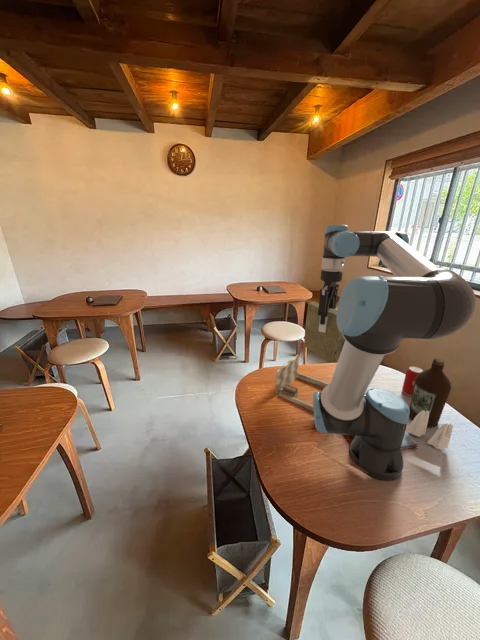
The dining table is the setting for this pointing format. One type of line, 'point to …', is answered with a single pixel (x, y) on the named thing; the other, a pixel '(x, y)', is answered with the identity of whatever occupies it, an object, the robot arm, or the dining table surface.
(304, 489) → the dining table surface
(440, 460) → the dining table surface
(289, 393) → the offcut stack
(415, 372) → the beverage can
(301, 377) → the rack
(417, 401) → the olive oil
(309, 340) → the decorative tile
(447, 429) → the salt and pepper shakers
